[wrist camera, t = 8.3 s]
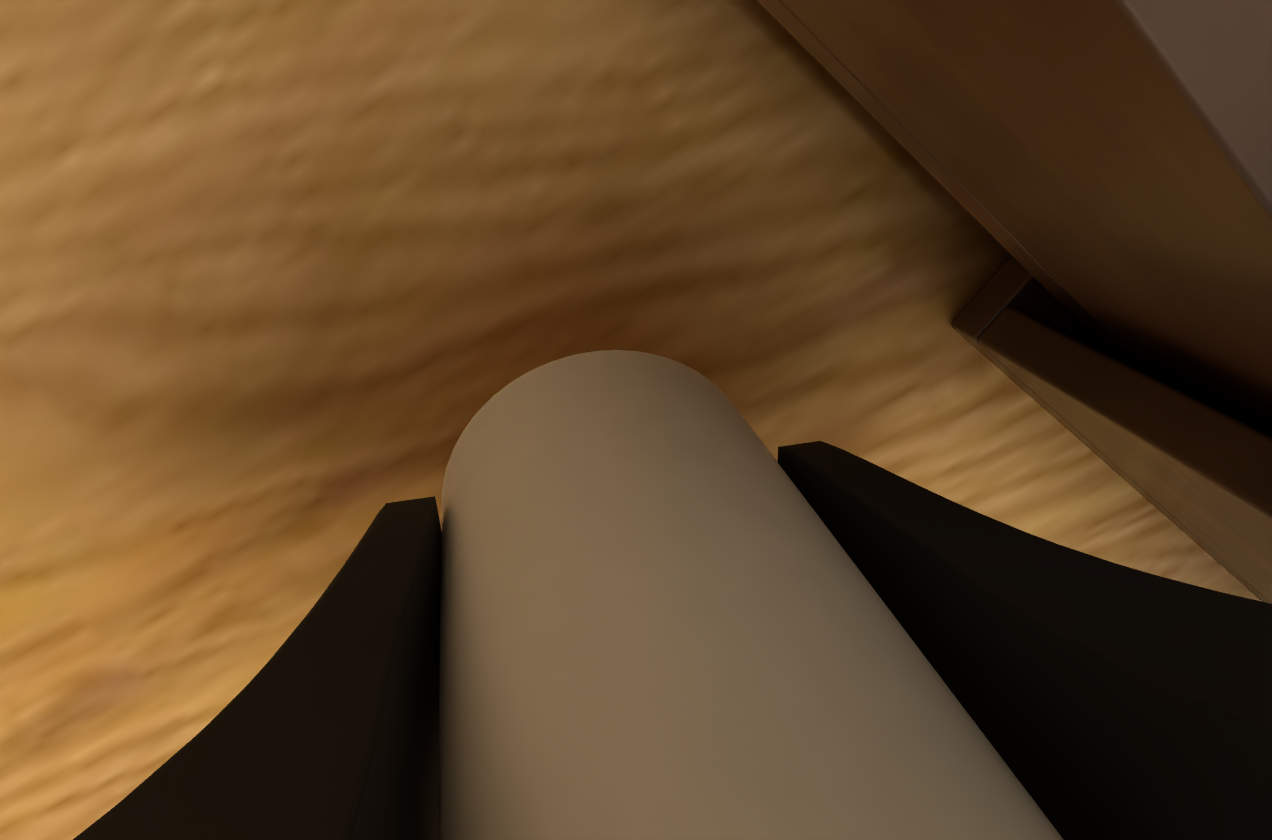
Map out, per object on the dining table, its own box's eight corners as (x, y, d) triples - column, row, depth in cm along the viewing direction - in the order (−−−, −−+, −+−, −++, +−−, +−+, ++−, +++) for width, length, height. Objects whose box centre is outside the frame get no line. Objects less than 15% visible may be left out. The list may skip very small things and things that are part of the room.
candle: (652, 280, 10) (1014, 724, 4) (804, 511, 13) (1199, 1049, 6) (369, 476, 11) (248, 1192, 4) (564, 668, 13) (686, 1337, 6)
